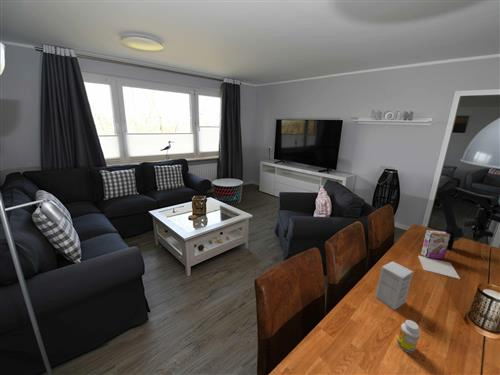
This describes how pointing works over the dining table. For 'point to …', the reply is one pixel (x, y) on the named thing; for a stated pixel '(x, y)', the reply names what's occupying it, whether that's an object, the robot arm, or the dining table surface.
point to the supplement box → (393, 284)
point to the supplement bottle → (408, 336)
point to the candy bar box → (435, 244)
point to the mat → (438, 267)
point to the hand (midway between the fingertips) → (474, 240)
